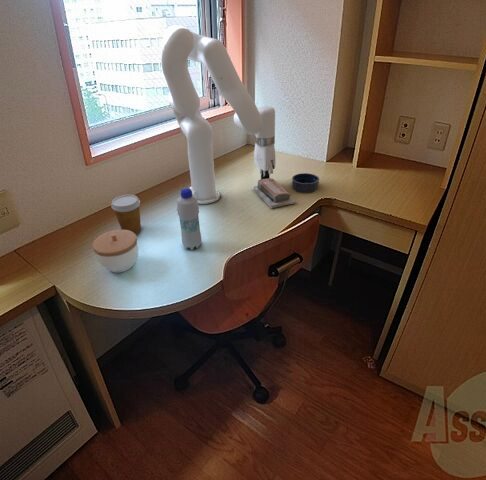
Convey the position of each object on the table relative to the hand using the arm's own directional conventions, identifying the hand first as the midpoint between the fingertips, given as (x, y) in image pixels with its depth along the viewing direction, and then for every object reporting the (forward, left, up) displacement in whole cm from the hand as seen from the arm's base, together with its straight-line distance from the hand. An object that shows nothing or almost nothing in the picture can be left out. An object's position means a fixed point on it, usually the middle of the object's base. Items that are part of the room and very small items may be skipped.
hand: (265, 183), depth 151 cm
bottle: (-43, -28, -1) cm, 51 cm away
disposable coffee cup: (-59, -9, -2) cm, 59 cm away
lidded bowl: (-66, -28, -2) cm, 72 cm away
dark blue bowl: (+13, -9, -1) cm, 16 cm away
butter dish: (-2, -11, -2) cm, 11 cm away
